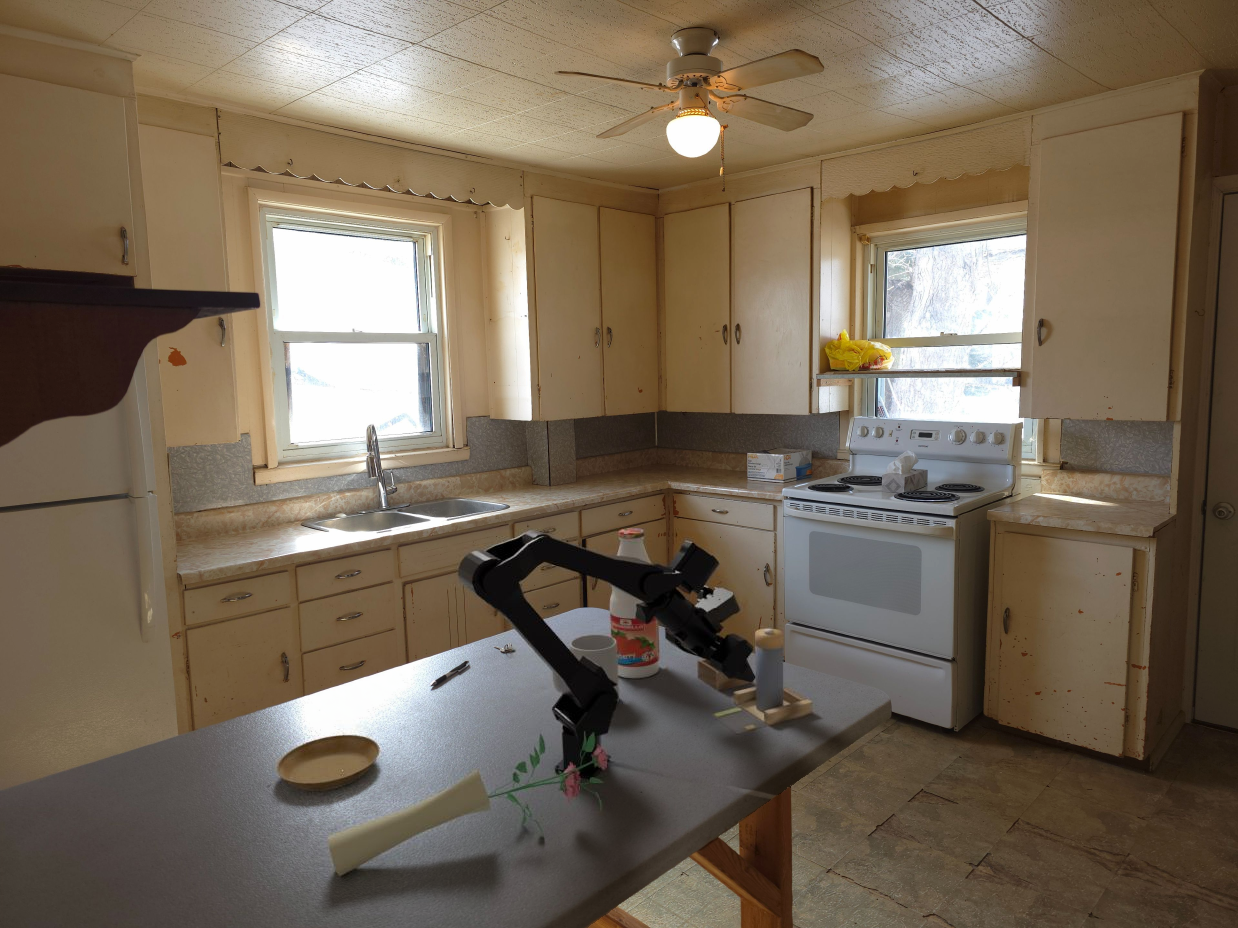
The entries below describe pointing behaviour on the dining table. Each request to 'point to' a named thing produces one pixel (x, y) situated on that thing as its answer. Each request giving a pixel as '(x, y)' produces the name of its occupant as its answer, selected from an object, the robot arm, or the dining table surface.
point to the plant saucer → (328, 762)
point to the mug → (596, 655)
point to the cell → (769, 669)
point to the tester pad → (738, 720)
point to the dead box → (716, 677)
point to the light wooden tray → (790, 710)
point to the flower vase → (445, 811)
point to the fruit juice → (633, 619)
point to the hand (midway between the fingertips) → (737, 670)
